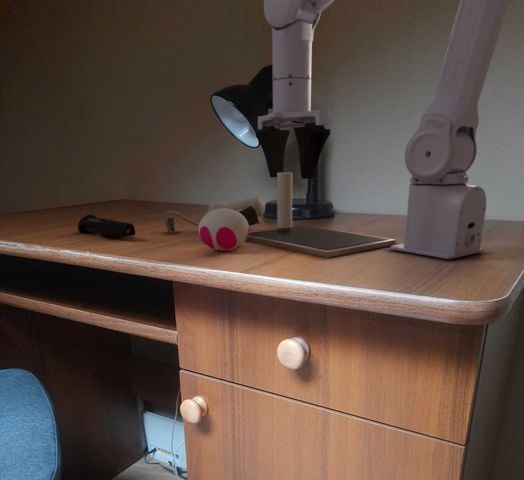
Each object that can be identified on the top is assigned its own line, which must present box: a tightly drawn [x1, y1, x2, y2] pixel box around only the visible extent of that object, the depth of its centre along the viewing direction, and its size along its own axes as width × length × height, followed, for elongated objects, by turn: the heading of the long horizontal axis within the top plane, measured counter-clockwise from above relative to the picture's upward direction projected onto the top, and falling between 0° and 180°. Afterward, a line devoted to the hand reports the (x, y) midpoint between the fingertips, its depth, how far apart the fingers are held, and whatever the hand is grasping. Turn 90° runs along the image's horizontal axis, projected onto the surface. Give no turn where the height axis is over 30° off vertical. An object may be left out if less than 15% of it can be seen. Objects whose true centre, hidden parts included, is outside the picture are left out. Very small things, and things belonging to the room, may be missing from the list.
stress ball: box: [197, 208, 250, 254], centre depth 70 cm, size 8×8×7 cm
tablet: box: [245, 225, 397, 259], centre depth 76 cm, size 20×14×1 cm
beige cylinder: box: [276, 171, 293, 232], centre depth 79 cm, size 2×2×9 cm
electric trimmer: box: [77, 214, 136, 238], centre depth 83 cm, size 4×16×3 cm, turn 45°
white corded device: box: [163, 196, 266, 234], centre depth 84 cm, size 12×6×18 cm
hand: (291, 177), depth 78 cm, fingers open, 7 cm apart
